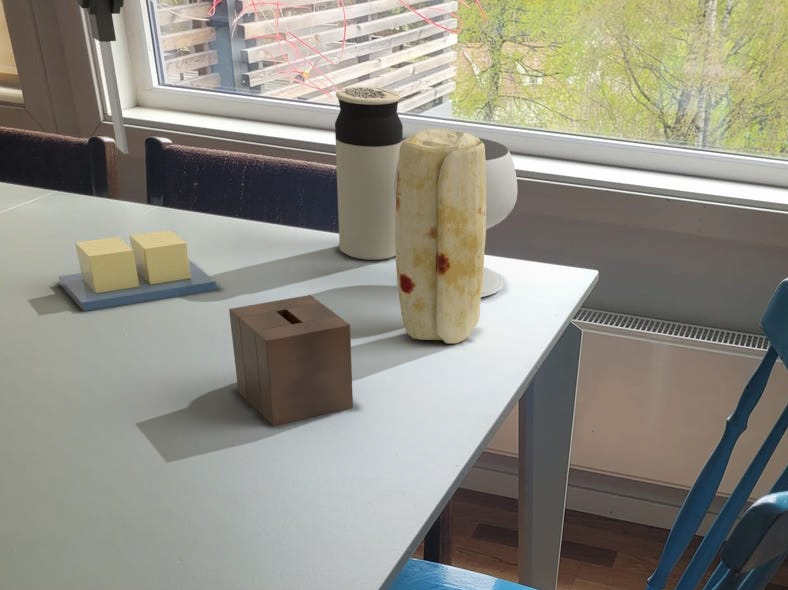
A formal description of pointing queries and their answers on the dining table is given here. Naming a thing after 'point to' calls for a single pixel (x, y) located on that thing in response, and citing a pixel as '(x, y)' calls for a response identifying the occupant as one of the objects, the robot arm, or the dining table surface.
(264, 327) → the knife block
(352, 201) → the travel mug
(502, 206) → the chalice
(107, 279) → the butter
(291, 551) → the dining table surface
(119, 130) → the knife
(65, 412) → the dining table surface
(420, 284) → the food model
